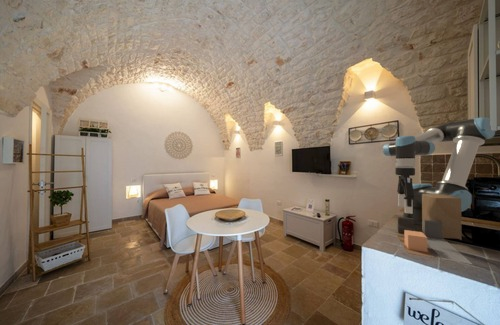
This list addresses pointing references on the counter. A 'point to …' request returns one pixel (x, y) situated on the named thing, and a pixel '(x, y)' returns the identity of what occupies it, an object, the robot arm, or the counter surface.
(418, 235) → the terracotta cube
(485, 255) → the counter surface
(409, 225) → the walnut strip
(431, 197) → the wooden block
